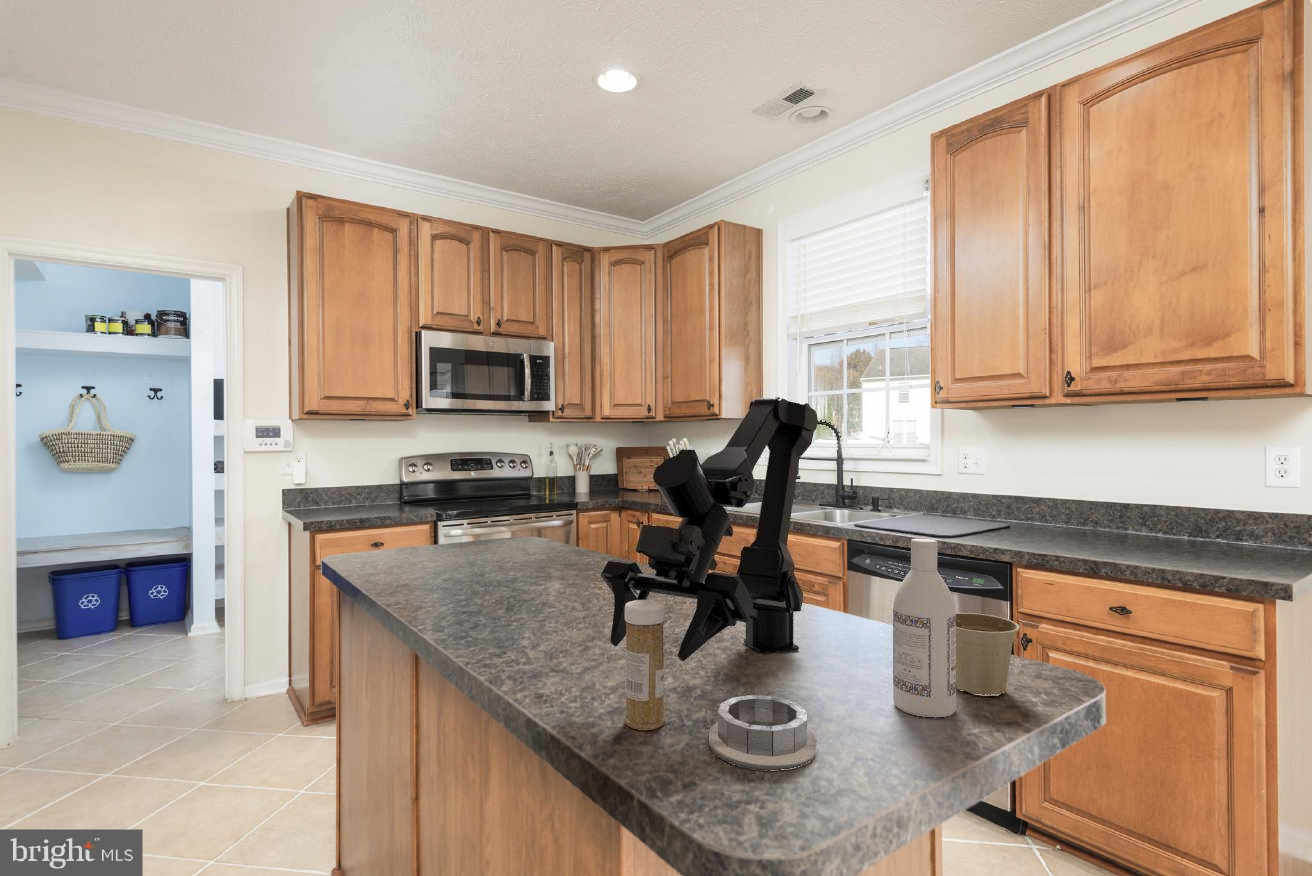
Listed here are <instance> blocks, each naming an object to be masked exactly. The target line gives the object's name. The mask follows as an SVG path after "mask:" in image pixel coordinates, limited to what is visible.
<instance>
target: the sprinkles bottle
mask: <svg viewBox="0 0 1312 876" xmlns="http://www.w3.org/2000/svg"><path fill="white" fill-rule="evenodd" d="M625 621H626V623H625V624H626V635H625V637H626V638H625V644H626V645H625V668H624V669H625V672H624V673H625V697H626V702H625V705H626V706H625V708H626V712H625V713H626V715H625V719H624V722H625V725H627V726H628V727H629V728H631V729H634V730H638V731H651V730H652V731H653V730H656V729H659V728H660V727H662V726H663V725H664V724H665V720H666V717H665V703H664V701H665V700H664V699H665V653H664V625H665V621H666V605H665V603H663V602H662V601H659V600H655V599H646V600H635V601H631V602H628V603H627V604H626V605H625Z"/></svg>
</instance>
